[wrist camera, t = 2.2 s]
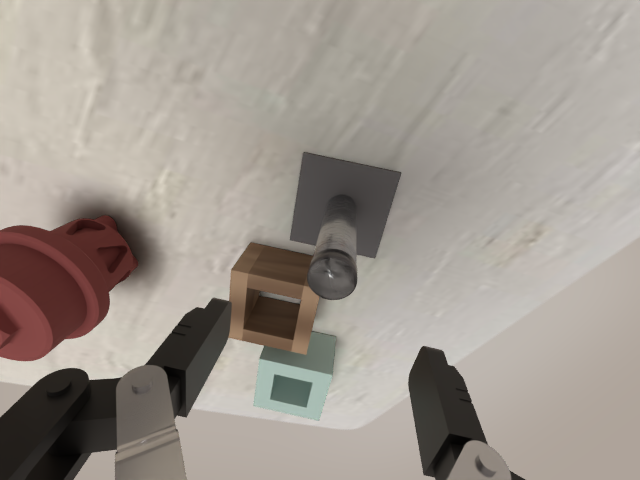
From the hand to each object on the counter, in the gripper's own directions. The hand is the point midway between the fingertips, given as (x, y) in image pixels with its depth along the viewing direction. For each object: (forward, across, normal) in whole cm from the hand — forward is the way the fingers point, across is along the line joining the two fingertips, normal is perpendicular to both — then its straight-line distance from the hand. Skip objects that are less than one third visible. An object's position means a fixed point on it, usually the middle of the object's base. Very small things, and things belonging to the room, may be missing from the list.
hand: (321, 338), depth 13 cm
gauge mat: (+15, 0, 0) cm, 16 cm away
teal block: (+16, +1, +18) cm, 24 cm away
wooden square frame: (+16, +4, +9) cm, 18 cm away
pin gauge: (+15, 0, 0) cm, 15 cm away
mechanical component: (+16, +22, +9) cm, 28 cm away
